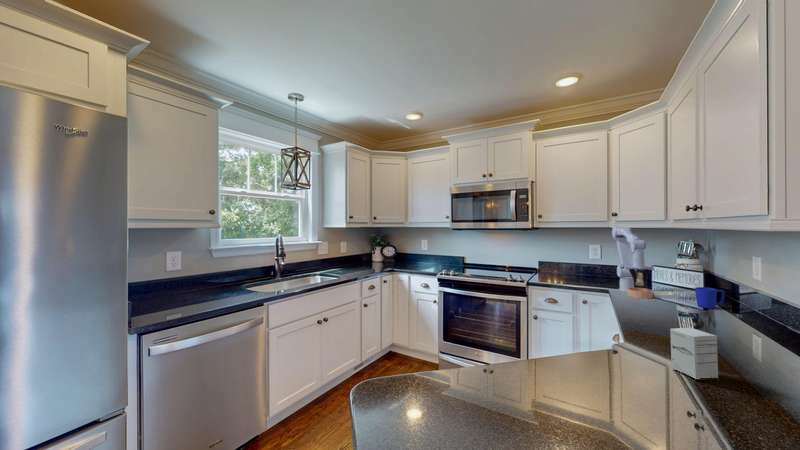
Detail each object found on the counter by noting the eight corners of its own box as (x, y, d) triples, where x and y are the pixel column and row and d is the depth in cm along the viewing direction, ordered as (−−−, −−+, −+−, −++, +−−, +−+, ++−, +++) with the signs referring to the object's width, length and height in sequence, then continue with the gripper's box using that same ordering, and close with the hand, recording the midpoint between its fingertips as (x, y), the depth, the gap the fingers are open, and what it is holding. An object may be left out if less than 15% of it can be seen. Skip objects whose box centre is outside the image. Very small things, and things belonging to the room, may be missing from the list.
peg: (634, 284, 190) (634, 272, 191) (642, 285, 189) (641, 272, 189) (636, 286, 187) (636, 273, 187) (644, 286, 185) (644, 273, 185)
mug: (731, 310, 155) (730, 290, 155) (703, 309, 157) (702, 290, 157) (718, 306, 163) (717, 287, 163) (691, 305, 165) (690, 287, 166)
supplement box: (670, 369, 93) (668, 328, 93) (692, 368, 93) (690, 326, 94) (695, 381, 85) (694, 336, 86) (719, 380, 86) (717, 334, 86)
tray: (646, 294, 195) (646, 290, 195) (670, 295, 190) (670, 291, 190) (654, 298, 183) (654, 294, 183) (679, 299, 179) (679, 295, 179)
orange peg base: (624, 294, 196) (624, 287, 196) (648, 295, 191) (648, 288, 191) (631, 298, 184) (630, 291, 184) (657, 299, 179) (656, 292, 180)
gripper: (626, 260, 187) (627, 282, 187) (655, 260, 182) (656, 283, 181) (622, 259, 194) (623, 280, 193) (650, 259, 188) (651, 281, 188)
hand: (639, 281), depth 188 cm, fingers closed on peg, 4 cm apart
